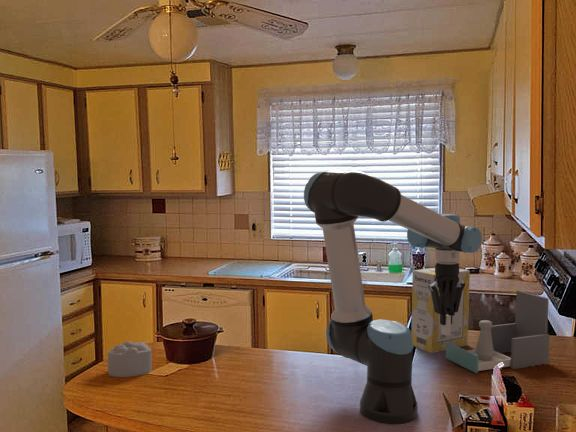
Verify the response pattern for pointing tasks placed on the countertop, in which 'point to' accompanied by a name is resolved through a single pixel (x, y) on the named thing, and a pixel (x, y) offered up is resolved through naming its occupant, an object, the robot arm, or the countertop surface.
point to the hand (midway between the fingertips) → (446, 334)
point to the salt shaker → (485, 341)
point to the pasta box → (436, 314)
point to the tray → (474, 358)
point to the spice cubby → (525, 332)
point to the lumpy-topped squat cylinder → (129, 359)
